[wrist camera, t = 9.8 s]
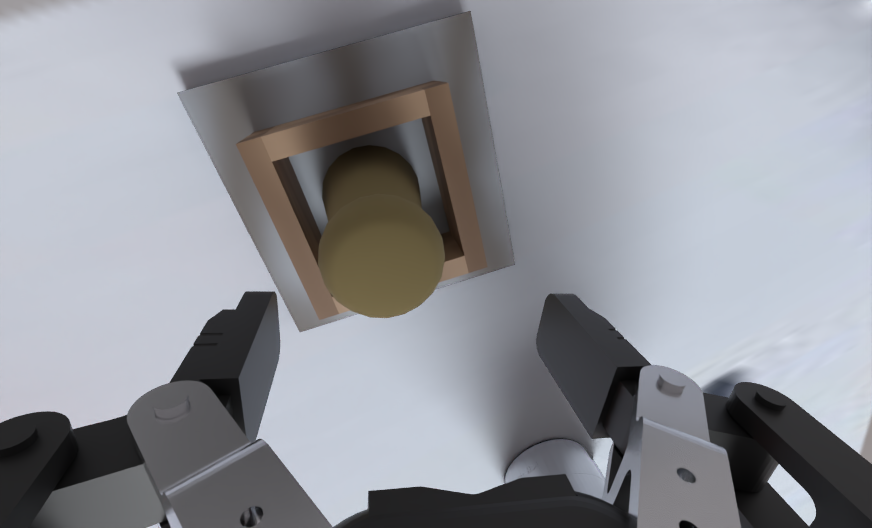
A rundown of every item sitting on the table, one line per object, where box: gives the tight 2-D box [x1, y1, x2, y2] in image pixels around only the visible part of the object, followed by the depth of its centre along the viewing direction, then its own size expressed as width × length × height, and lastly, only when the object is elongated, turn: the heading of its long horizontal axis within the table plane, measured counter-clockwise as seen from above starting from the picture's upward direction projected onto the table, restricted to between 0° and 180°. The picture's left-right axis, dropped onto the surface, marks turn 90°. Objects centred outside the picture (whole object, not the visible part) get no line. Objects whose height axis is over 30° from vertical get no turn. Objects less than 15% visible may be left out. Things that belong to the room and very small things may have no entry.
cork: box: [318, 145, 445, 318], centre depth 20 cm, size 6×6×11 cm
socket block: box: [177, 11, 515, 332], centre depth 24 cm, size 16×16×6 cm
